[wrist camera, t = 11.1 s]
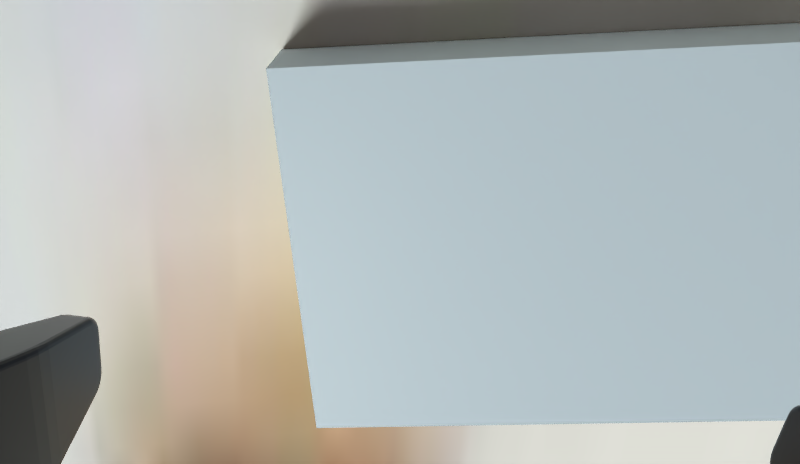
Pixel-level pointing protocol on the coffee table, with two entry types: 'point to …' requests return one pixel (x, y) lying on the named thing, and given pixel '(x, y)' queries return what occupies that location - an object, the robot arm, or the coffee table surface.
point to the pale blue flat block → (546, 226)
